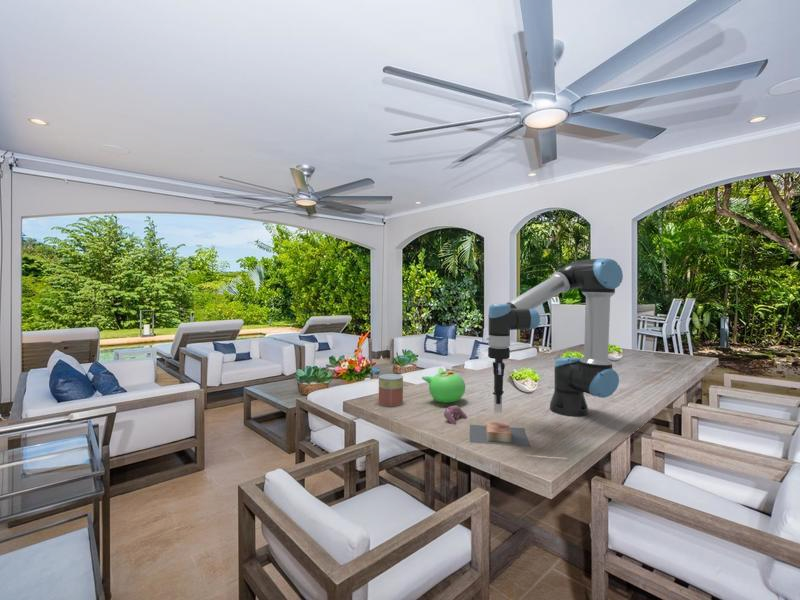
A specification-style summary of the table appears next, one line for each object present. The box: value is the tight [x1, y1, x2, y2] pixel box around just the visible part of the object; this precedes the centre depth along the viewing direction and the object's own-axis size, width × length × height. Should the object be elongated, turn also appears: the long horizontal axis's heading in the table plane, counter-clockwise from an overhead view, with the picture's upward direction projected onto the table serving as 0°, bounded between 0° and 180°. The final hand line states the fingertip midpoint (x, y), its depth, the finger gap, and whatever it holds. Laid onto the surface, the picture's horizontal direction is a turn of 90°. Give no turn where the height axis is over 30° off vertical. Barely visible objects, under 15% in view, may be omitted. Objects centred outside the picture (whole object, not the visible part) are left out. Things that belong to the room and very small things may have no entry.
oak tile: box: [485, 421, 512, 442], centre depth 138 cm, size 8×3×10 cm
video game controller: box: [443, 405, 468, 425], centre depth 155 cm, size 10×5×7 cm, turn 141°
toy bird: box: [421, 367, 466, 404], centre depth 180 cm, size 18×17×15 cm
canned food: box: [378, 373, 404, 407], centre depth 179 cm, size 11×11×12 cm
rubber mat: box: [469, 424, 532, 448], centre depth 139 cm, size 20×17×1 cm
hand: (497, 411), depth 140 cm, fingers closed
